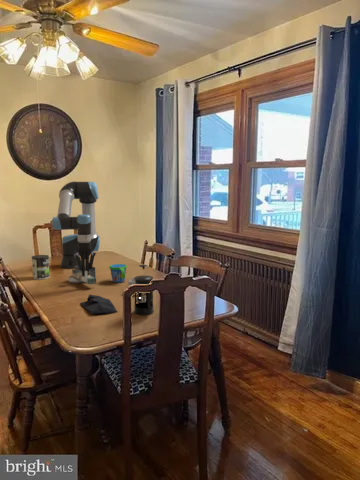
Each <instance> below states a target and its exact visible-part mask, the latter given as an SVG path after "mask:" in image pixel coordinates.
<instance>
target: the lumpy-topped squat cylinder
mask: <svg viewBox="0 0 360 480" xmlns="http://www.w3.org/2000/svg"><path fill="white" fill-rule="evenodd" d="M134 277H135V276H133V277H132V278H130V279H129V280H128V283H127V284H128V286H129V285H132V284H136V283H135V279H134ZM136 294H137V293H136ZM142 294H143V293H142ZM144 294H146V293H144Z"/></svg>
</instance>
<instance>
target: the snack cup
mask: <svg viewBox="0 0 360 480" xmlns="http://www.w3.org/2000/svg"><path fill="white" fill-rule="evenodd" d="M127 267H128V266H127V265H126V264H124V263H116V264H115V263H114V264H111V265H109V267H108V268H109V269H110V276H111V281H112V282H113V283H115V284H117V283H123V282H125V280H126V273H127V272H126V271H127ZM116 282H117V283H116Z"/></svg>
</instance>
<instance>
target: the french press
mask: <svg viewBox="0 0 360 480" xmlns="http://www.w3.org/2000/svg"><path fill="white" fill-rule="evenodd" d="M139 267H140V268H142V272H143V273H142V275H137V276H133V277H134V279H135V283H136V284H149V283H150V281H151V280H152V281H153V279H154V277H153V276H152V275H145V268H146V267H149V265H148V264H140V265H139ZM137 293H138V295H136V293H135V295H134V309H133V313H134V314H135V315H139V316H148V315H149V316H150V315H153V313H154V291H153V292H150V293H146V295H144V293H143V295H142V293H139V292H137ZM137 296H138V297H137Z"/></svg>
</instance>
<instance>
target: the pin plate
mask: <svg viewBox="0 0 360 480" xmlns="http://www.w3.org/2000/svg"><path fill="white" fill-rule="evenodd" d="M68 283H69V284H83V283H85V282H84V281H82V280H80V279H78V278H75V277H73V275H71V276H69V277H68Z"/></svg>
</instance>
